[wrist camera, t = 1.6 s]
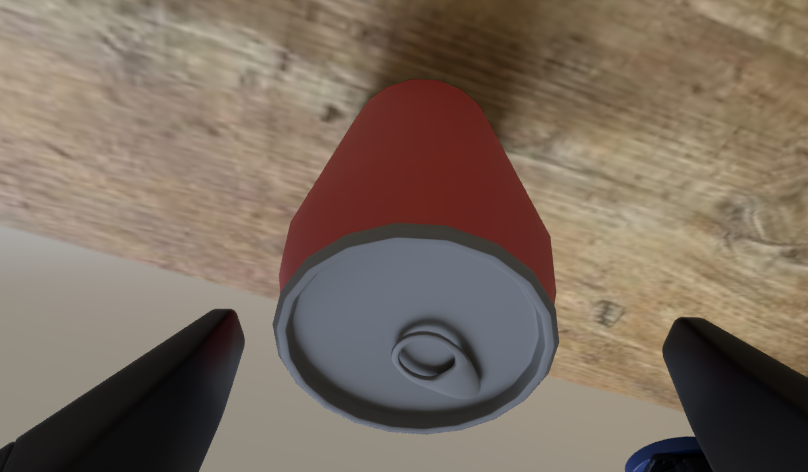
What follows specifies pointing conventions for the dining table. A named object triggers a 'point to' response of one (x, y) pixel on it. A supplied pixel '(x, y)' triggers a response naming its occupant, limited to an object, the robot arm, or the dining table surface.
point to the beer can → (418, 271)
